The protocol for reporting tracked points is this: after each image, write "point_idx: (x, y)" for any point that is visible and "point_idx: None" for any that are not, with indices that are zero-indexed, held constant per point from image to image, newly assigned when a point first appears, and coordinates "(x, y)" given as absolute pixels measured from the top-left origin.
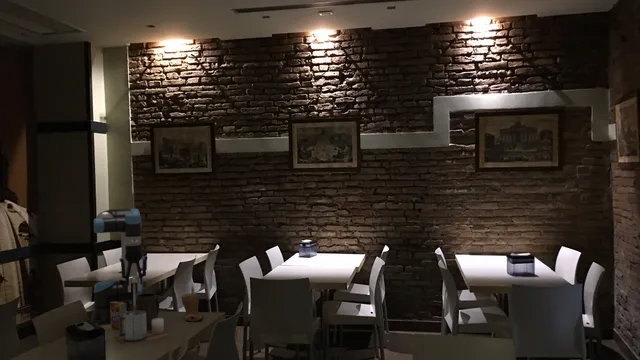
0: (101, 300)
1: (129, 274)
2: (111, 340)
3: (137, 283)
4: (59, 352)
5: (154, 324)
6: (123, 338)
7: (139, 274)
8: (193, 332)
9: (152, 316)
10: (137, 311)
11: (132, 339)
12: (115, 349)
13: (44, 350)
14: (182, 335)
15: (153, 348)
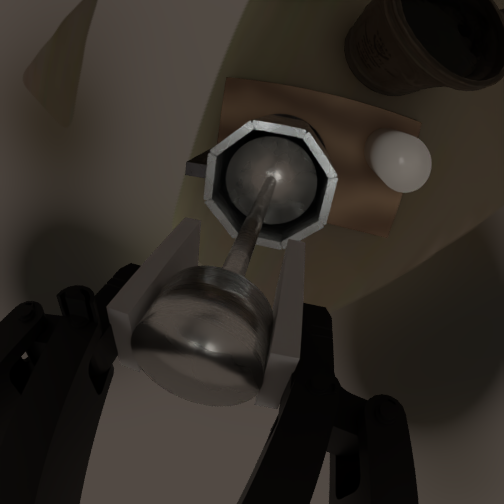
0: None
1: (95, 419)
2: (218, 72)
3: (281, 287)
4: (68, 112)
5: (376, 172)
6: (246, 119)
7: (261, 454)
8: (474, 219)
9: (418, 89)
10: (307, 145)
11: None
12: (192, 194)
13: (50, 70)
14: (436, 221)
15: None
